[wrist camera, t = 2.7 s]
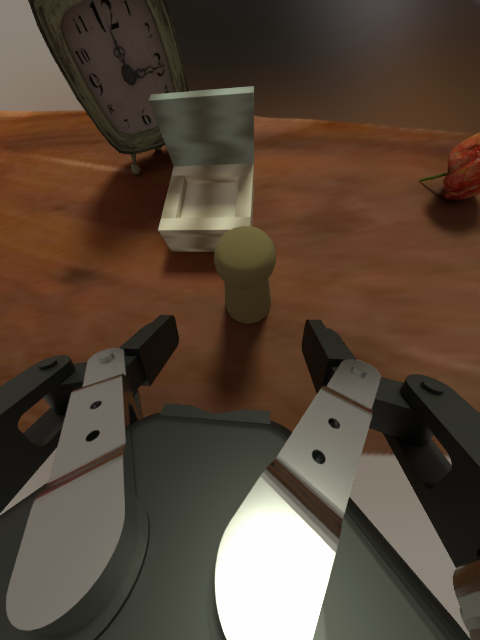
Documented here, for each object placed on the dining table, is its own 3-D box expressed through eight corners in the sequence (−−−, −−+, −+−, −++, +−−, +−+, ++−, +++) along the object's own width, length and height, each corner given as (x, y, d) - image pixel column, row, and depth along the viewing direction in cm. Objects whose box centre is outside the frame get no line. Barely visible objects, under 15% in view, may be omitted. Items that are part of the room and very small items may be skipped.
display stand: (253, 186, 30) (253, 86, 20) (250, 251, 26) (248, 169, 16) (185, 188, 32) (150, 94, 21) (171, 251, 28) (121, 174, 17)
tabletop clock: (131, 184, 33) (-187, -317, 9) (121, 155, 36) (-141, -286, 12) (204, 156, 34) (87, -367, 10) (189, 130, 37) (70, -328, 13)
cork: (236, 331, 23) (221, 292, 13) (219, 292, 25) (193, 230, 14) (279, 312, 23) (299, 259, 13) (258, 275, 25) (262, 202, 15)
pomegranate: (405, 214, 29) (511, 202, 21) (412, 158, 25) (545, 118, 17) (427, 194, 31) (531, 176, 23) (436, 139, 27) (567, 95, 19)
